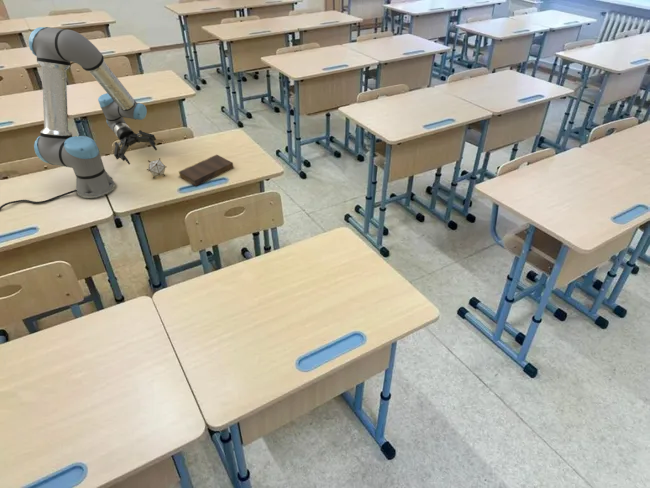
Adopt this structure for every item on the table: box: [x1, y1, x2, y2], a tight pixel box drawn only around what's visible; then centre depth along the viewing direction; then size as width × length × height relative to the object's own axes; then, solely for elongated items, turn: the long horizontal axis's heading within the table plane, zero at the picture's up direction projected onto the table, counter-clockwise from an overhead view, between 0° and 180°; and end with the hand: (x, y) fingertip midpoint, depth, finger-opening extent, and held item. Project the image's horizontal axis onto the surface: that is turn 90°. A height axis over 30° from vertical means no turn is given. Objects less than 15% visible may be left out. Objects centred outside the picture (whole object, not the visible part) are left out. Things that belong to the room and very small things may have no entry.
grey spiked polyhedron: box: [146, 157, 167, 179], centre depth 207 cm, size 9×8×10 cm
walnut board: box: [178, 154, 234, 187], centre depth 212 cm, size 22×12×3 cm, turn 139°
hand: (142, 155), depth 207 cm, fingers open, 13 cm apart
